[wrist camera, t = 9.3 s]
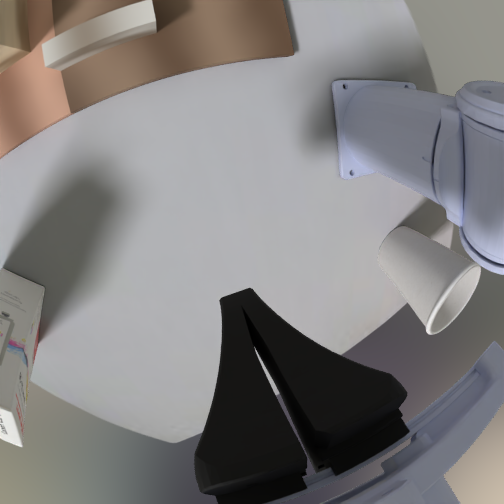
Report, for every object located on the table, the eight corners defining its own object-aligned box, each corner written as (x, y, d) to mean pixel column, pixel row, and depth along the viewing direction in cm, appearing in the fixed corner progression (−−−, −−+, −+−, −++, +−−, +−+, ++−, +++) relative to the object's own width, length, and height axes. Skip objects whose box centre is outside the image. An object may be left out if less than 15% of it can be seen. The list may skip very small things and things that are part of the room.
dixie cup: (397, 202, 24) (474, 253, 16) (427, 230, 28) (486, 274, 20) (355, 269, 27) (416, 334, 19) (391, 284, 31) (442, 336, 23)
